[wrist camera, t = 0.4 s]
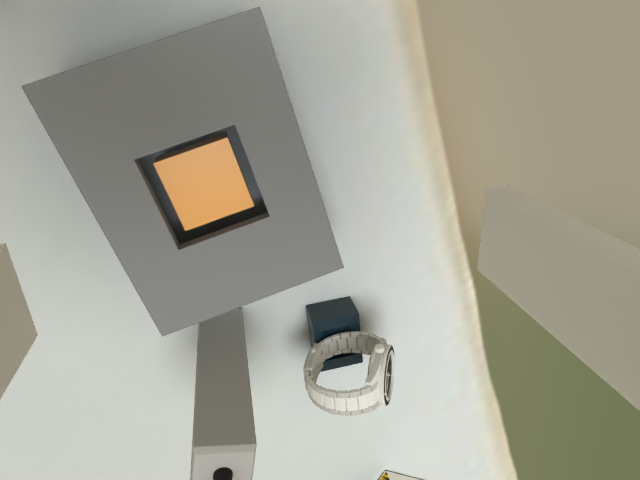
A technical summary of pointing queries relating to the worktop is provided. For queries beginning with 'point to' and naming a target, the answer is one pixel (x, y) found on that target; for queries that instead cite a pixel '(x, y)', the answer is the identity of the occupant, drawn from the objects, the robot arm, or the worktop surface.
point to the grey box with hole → (180, 131)
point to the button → (204, 181)
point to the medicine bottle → (395, 476)
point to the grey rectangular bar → (223, 402)
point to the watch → (346, 359)
